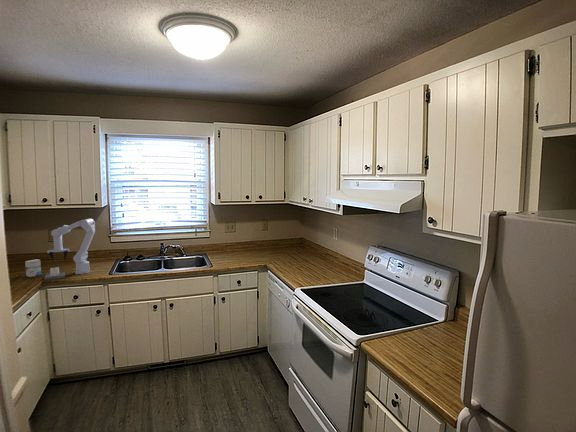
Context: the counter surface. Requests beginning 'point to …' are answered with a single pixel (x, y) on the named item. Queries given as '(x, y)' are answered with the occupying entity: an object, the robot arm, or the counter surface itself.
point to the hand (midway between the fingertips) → (59, 260)
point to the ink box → (33, 267)
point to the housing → (54, 271)
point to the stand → (47, 277)
